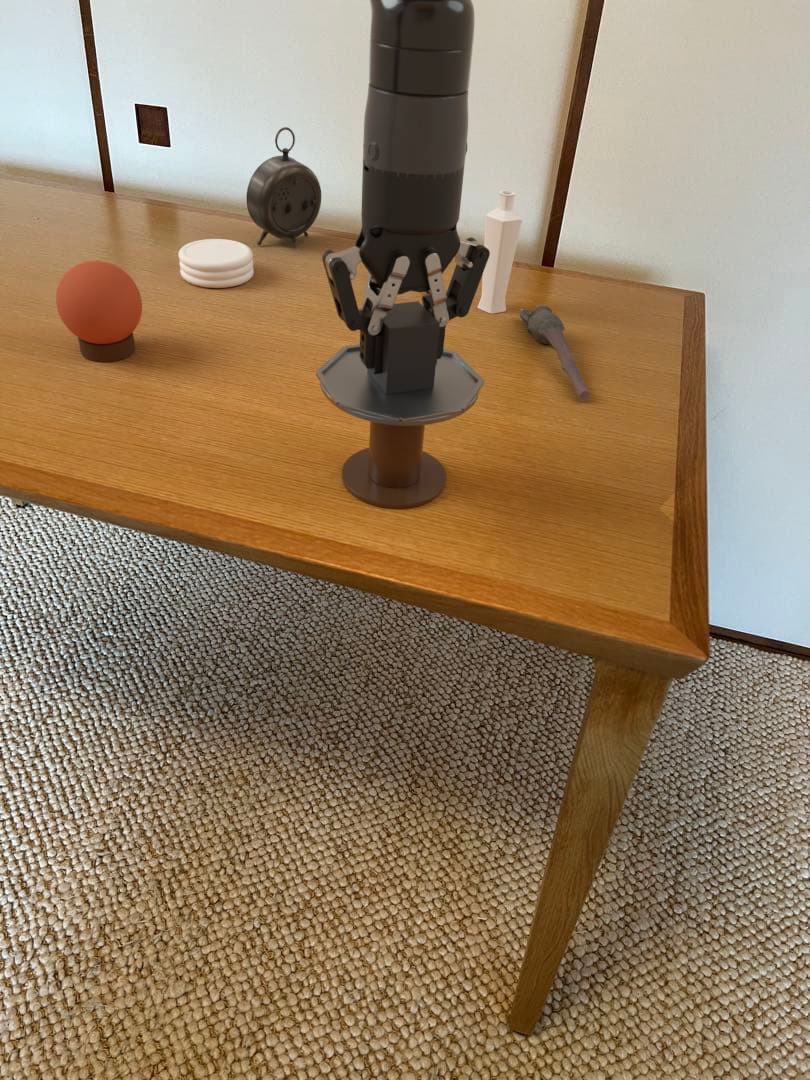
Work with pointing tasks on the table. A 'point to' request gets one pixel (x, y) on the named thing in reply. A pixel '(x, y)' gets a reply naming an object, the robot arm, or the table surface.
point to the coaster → (216, 263)
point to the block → (408, 349)
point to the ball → (100, 309)
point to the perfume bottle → (499, 252)
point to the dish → (397, 427)
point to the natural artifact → (555, 343)
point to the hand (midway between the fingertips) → (400, 365)
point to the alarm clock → (283, 196)
